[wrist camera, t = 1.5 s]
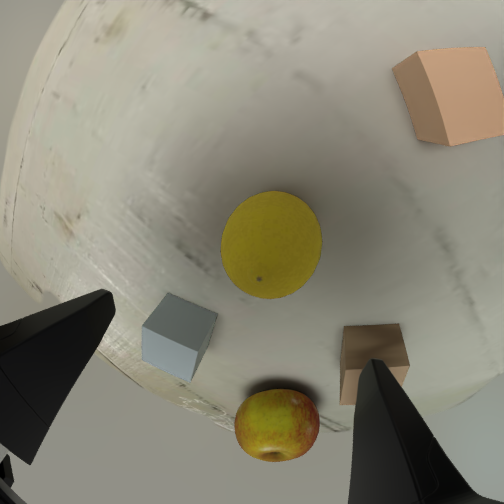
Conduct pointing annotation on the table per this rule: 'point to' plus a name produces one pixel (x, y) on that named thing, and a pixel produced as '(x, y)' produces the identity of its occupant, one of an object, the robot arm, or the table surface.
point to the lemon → (271, 244)
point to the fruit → (277, 425)
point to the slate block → (177, 336)
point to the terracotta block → (452, 95)
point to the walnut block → (370, 355)
